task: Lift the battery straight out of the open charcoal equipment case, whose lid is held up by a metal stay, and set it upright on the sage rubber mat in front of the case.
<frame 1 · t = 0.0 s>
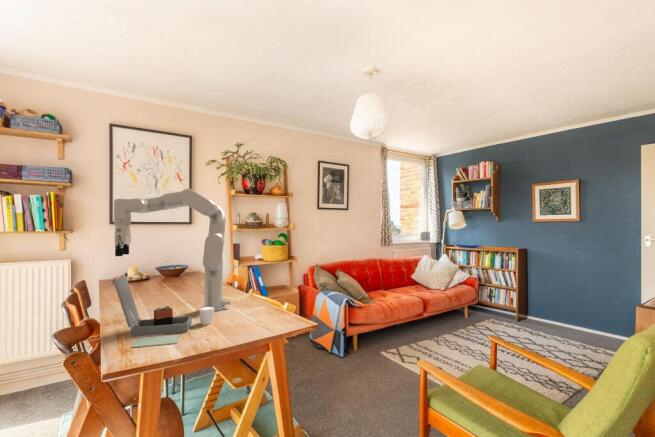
hand: (122, 255, 167), 31 cm above the table, tool pointing down, fingers open, 9 cm apart
shot glass: (206, 323, 153), on the table
battery: (163, 330, 143), resting in equipment case
rubber mat: (157, 341, 129), on the table
equipment case: (163, 329, 143), on the table
case lid: (127, 300, 139), point 14 cm above the table, hinge at 106.0°, touching equipment case
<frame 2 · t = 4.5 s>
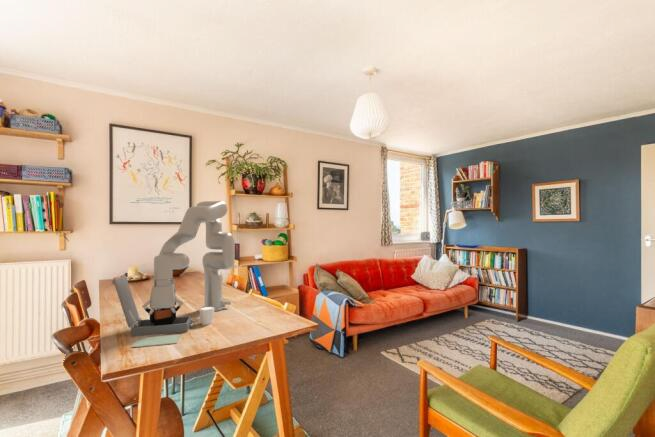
hand: (163, 321, 143), 4 cm above the table, tool pointing down, fingers closed on battery, 7 cm apart
battery: (163, 330, 143), resting in equipment case, touching gripper
everything else where it was.
when the fingers open (5 cm above the table, at t = 11.6 s): battery stays where it is, resting on rubber mat.
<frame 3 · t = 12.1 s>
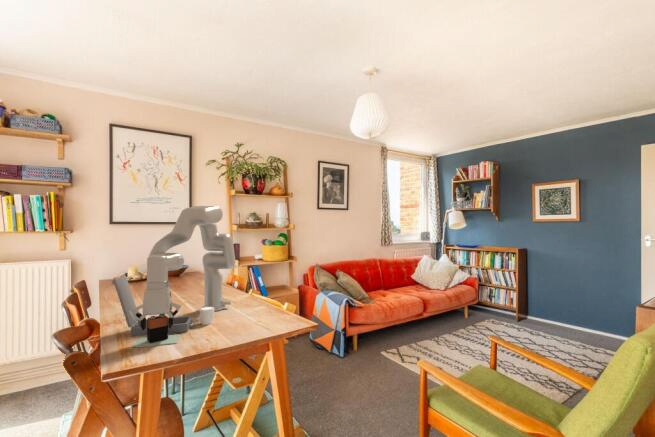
hand: (157, 328, 129), 5 cm above the table, tool pointing down, fingers open, 9 cm apart
battery: (157, 340, 129), resting on rubber mat
everything else where it was.
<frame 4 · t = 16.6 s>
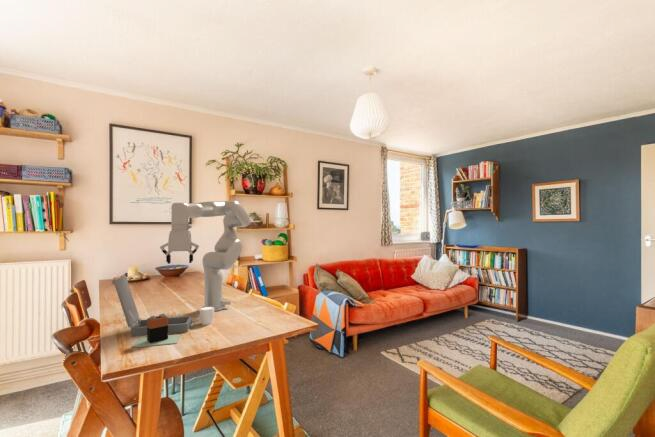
hand: (179, 263, 155), 28 cm above the table, tool pointing down, fingers open, 9 cm apart
nothing on the table moved.
at the end: battery inside the target area on the rubber mat (0.2 cm from its centre), point 0.2 cm above the rubber mat's base; battery tilted 0°; the gripper is holding nothing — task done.
